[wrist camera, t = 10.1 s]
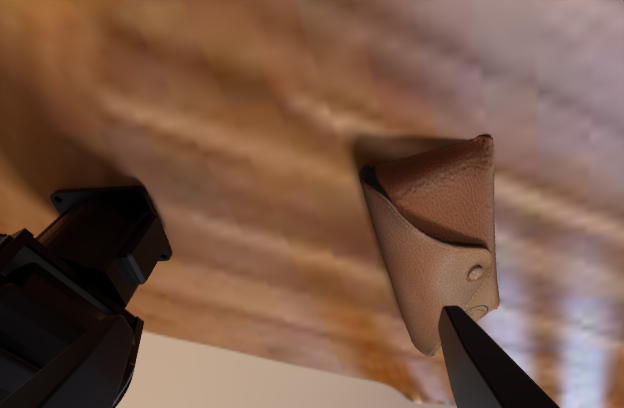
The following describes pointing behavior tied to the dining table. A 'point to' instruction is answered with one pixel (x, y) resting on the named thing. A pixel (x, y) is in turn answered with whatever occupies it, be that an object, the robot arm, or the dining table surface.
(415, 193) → the sunglasses case
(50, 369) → the robot arm
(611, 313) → the dining table surface
